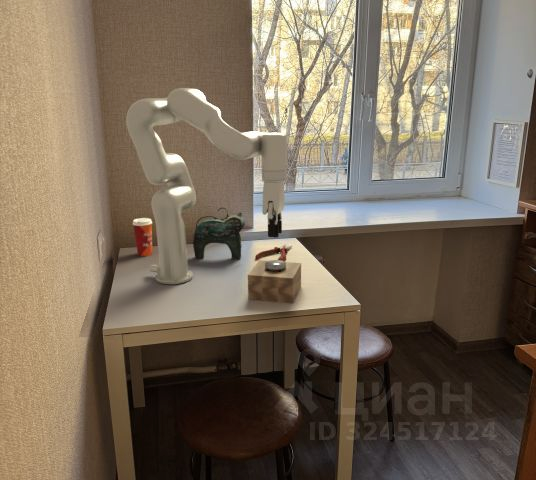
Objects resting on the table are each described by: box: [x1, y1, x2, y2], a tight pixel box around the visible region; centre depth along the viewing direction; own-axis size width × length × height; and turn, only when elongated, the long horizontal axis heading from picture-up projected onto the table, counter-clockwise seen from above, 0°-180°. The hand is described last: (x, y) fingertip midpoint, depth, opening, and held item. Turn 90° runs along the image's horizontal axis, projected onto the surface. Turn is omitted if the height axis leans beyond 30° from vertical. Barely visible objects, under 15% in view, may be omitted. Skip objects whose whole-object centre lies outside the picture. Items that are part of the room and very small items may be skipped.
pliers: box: [255, 244, 293, 262], centre depth 194 cm, size 12×20×3 cm, turn 154°
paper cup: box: [132, 217, 153, 257], centre depth 194 cm, size 8×8×14 cm
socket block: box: [247, 259, 302, 304], centre depth 155 cm, size 14×14×8 cm
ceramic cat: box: [192, 207, 246, 260], centre depth 187 cm, size 20×6×20 cm, turn 84°
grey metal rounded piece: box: [265, 259, 287, 272], centre depth 155 cm, size 7×7×9 cm
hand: (274, 234), depth 151 cm, fingers open, 3 cm apart
